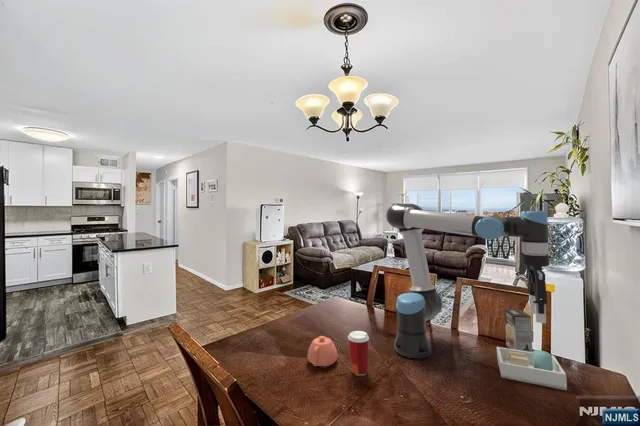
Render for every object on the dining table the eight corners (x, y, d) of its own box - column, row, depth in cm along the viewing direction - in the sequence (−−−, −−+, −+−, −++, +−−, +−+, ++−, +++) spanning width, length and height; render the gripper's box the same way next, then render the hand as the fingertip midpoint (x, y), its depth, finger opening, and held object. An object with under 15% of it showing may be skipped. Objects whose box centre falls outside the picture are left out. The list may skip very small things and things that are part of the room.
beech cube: (529, 374, 95) (528, 360, 95) (511, 371, 97) (511, 357, 97) (526, 367, 99) (525, 353, 100) (509, 364, 102) (508, 351, 102)
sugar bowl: (342, 358, 113) (341, 333, 113) (329, 375, 100) (328, 347, 101) (315, 353, 118) (314, 329, 118) (300, 369, 105) (299, 342, 106)
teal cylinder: (536, 375, 94) (534, 355, 94) (533, 368, 98) (531, 349, 99) (554, 379, 92) (553, 358, 92) (550, 371, 96) (549, 351, 96)
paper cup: (371, 368, 104) (370, 331, 104) (368, 379, 97) (366, 339, 97) (351, 365, 107) (350, 329, 107) (347, 376, 99) (345, 337, 100)
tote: (501, 377, 95) (500, 363, 95) (497, 359, 107) (496, 346, 107) (567, 390, 87) (566, 374, 87) (554, 369, 99) (553, 355, 99)
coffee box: (505, 345, 119) (503, 308, 119) (521, 346, 118) (519, 308, 118) (516, 355, 110) (513, 315, 110) (534, 356, 109) (531, 315, 109)
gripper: (558, 258, 85) (560, 331, 85) (540, 250, 104) (543, 310, 104) (528, 257, 89) (530, 327, 88) (517, 250, 108) (519, 307, 107)
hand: (537, 317), depth 96 cm, fingers open, 9 cm apart
